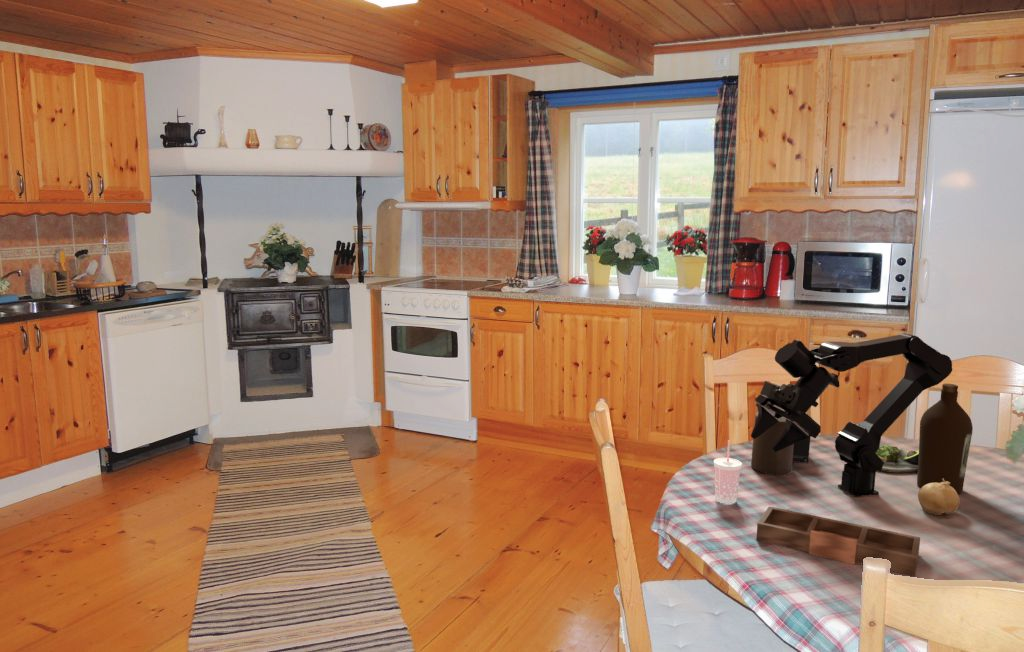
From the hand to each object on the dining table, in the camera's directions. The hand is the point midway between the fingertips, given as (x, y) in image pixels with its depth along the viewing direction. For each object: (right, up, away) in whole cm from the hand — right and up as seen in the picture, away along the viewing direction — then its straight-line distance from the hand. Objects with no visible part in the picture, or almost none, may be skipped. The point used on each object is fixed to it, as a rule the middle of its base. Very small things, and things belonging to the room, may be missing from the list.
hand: (762, 444), depth 170 cm
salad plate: (+42, -9, +27) cm, 51 cm away
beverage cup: (-8, -13, +1) cm, 15 cm away
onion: (+37, -14, -4) cm, 40 cm away
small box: (+18, -8, +31) cm, 37 cm away
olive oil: (+45, -12, +9) cm, 47 cm away
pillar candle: (+9, -10, +21) cm, 25 cm away
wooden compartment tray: (+7, -17, -22) cm, 28 cm away
